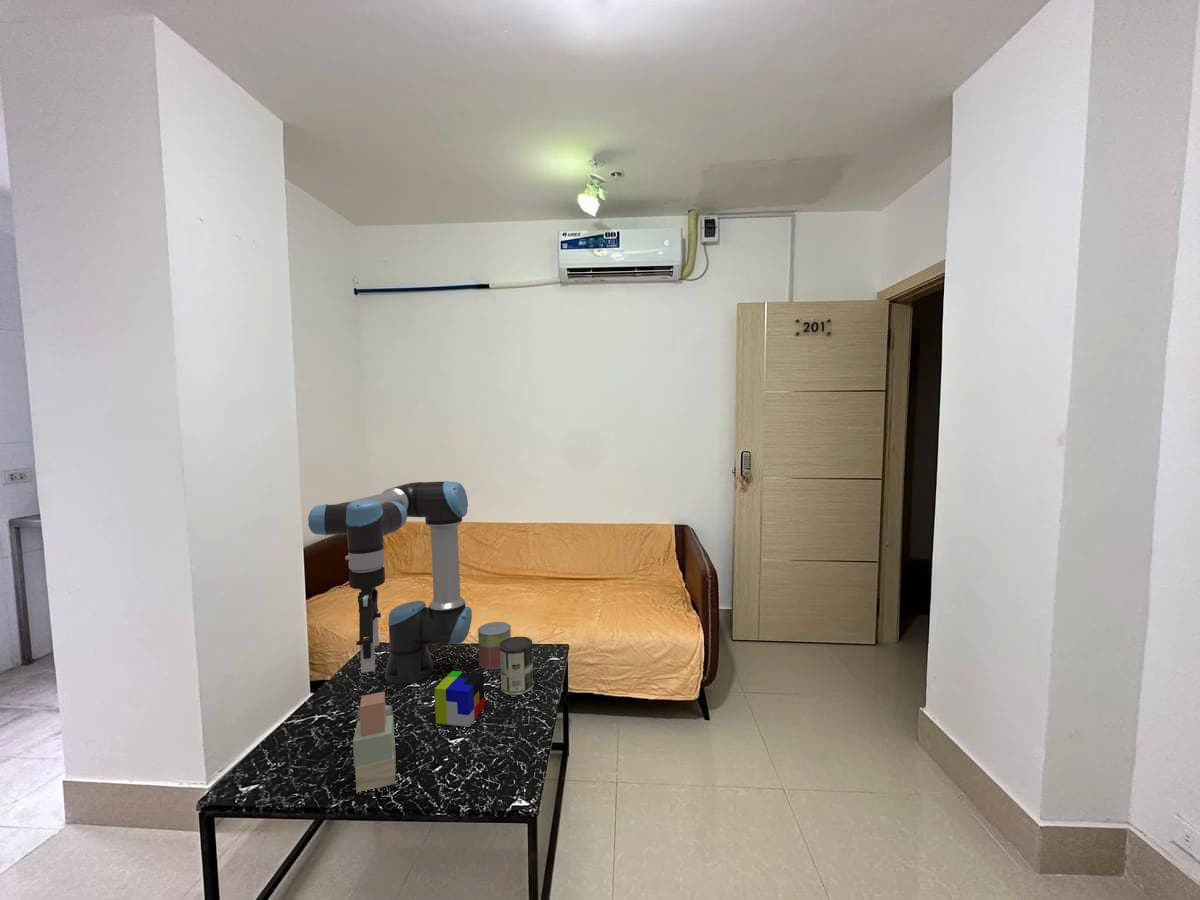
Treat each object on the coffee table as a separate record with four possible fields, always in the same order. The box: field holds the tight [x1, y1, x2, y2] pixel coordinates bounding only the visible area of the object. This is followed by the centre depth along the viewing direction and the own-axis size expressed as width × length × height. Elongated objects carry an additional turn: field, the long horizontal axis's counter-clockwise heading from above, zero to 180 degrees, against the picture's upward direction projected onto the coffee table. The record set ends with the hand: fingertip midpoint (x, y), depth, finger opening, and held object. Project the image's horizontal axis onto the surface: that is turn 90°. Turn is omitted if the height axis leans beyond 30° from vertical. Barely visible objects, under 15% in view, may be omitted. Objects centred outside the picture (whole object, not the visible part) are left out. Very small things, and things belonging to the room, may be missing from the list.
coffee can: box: [499, 636, 535, 696], centre depth 156 cm, size 10×10×14 cm
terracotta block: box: [359, 691, 386, 737], centre depth 115 cm, size 5×5×7 cm
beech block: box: [354, 738, 397, 794], centre depth 116 cm, size 8×8×6 cm
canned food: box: [477, 621, 512, 670], centre depth 173 cm, size 11×11×12 cm
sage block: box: [352, 714, 395, 769], centre depth 116 cm, size 8×8×6 cm
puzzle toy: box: [434, 670, 486, 728], centre depth 141 cm, size 10×10×10 cm
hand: (370, 658), depth 115 cm, fingers open, 13 cm apart
